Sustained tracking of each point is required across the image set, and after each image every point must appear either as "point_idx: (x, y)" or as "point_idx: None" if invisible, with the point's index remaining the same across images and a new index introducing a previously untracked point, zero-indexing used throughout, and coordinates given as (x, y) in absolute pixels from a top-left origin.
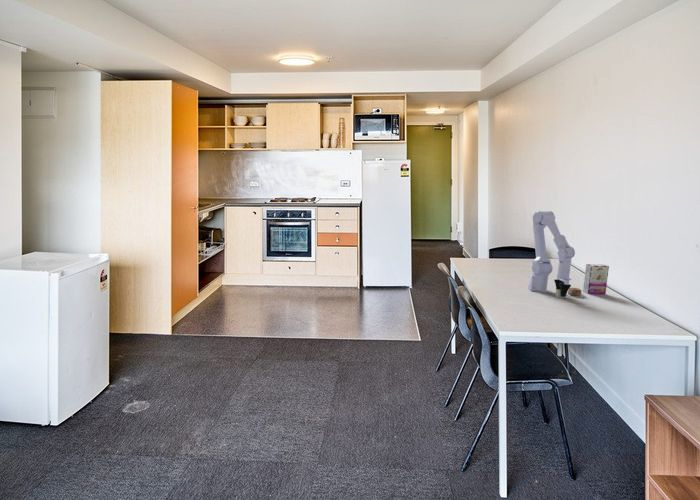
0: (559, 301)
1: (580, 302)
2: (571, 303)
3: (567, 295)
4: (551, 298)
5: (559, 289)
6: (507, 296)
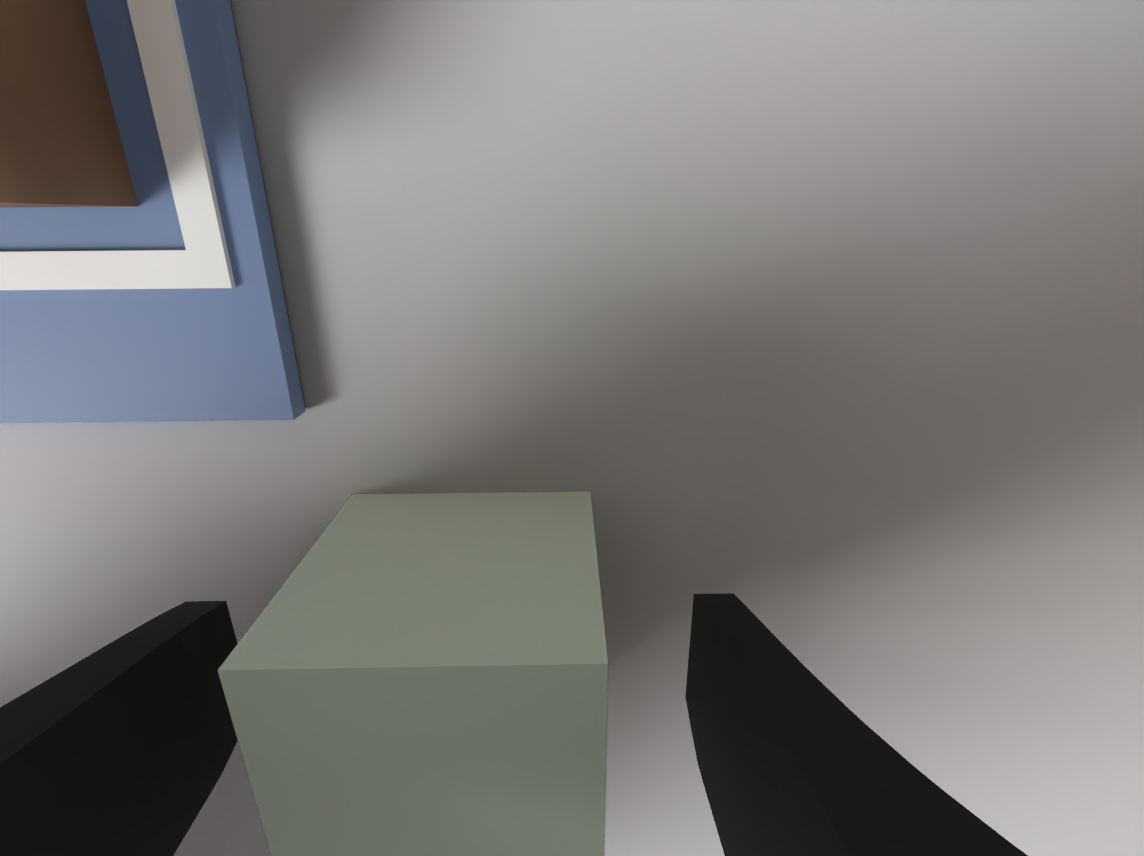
0: (939, 711)
1: (997, 92)
2: (1137, 471)
3: (136, 332)
4: (671, 805)
5: (268, 832)
6: None
